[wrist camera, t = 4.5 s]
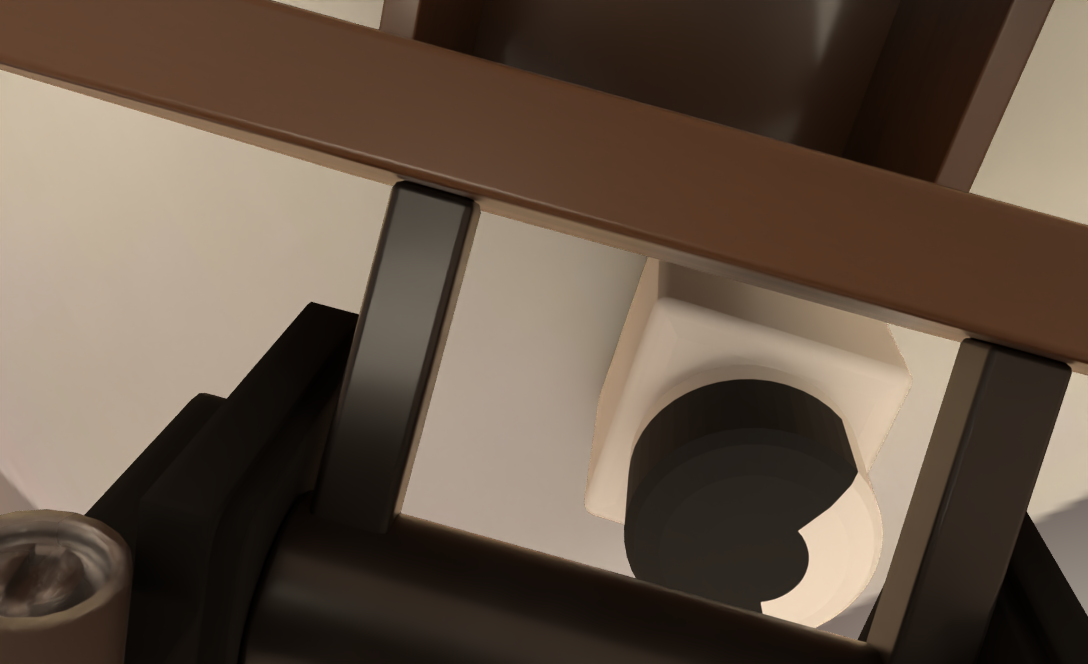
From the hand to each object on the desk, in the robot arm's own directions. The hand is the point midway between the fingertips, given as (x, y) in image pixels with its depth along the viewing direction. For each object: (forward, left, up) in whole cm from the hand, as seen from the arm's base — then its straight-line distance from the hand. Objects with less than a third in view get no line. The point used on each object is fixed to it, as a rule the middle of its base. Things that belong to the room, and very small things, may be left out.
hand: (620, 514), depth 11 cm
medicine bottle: (+6, +6, -22) cm, 24 cm away
